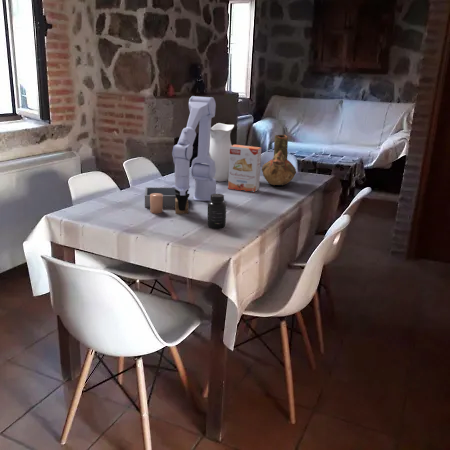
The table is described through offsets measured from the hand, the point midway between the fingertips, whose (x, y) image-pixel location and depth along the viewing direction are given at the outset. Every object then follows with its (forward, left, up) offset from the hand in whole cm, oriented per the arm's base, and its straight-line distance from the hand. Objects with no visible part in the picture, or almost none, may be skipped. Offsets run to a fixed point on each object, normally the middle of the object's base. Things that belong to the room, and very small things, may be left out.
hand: (181, 208), depth 193 cm
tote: (+6, -12, -1) cm, 14 cm away
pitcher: (-19, -54, -2) cm, 58 cm away
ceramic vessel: (-50, -44, -2) cm, 67 cm away
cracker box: (-31, -35, -2) cm, 47 cm away
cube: (0, 0, -2) cm, 2 cm away
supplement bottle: (-12, +19, -2) cm, 22 cm away
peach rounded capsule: (+10, 0, -1) cm, 10 cm away
